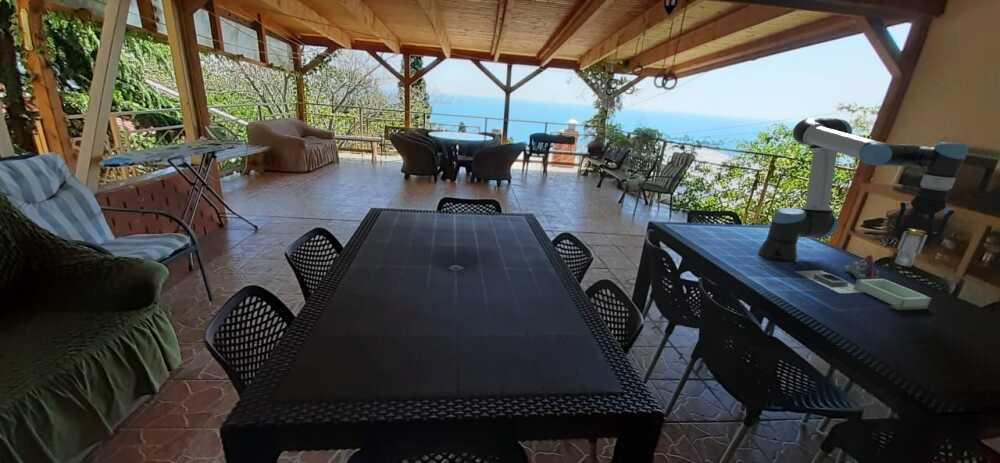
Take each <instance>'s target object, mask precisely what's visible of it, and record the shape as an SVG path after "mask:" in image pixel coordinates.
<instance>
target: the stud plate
mask: <svg viewBox="0 0 1000 463" xmlns="http://www.w3.org/2000/svg"><path fill="white" fill-rule="evenodd" d="M794 272H795V273H796V274H798V275H801V276H803V277H805V278H807V279H809V280H811V281H813V282H815V283H817V284H819V285H821V286H823V287H826V288H827V289H830V290H832V291H834V292H836V293H838V294H856V293H857V294H858V293H864V292H863V291H861V290H859V289H856V288H854V286H855V284H853V283H852V282H850V281H848V280H846V279H843V278H841V277H838V275H835V274H833V273H828V272H826V271H824V270H798V271H797V270H795V271H794Z"/></svg>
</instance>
